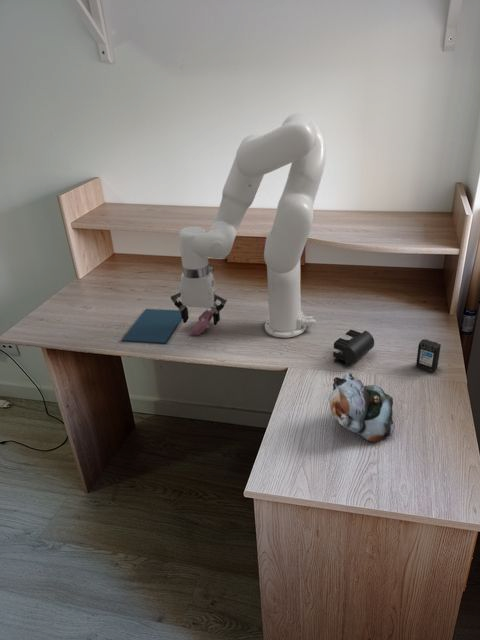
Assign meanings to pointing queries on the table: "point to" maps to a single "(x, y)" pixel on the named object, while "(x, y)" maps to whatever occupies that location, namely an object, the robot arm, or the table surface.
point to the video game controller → (203, 322)
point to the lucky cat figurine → (362, 408)
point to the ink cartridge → (428, 355)
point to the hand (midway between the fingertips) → (201, 321)
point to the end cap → (352, 347)
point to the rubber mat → (154, 326)
